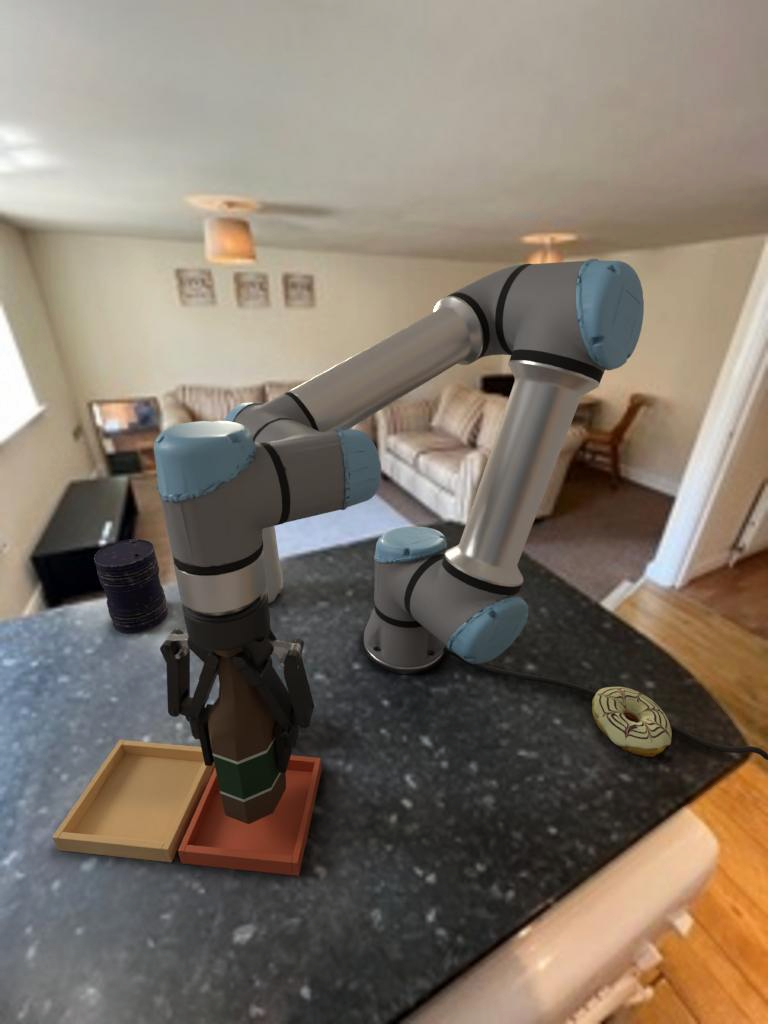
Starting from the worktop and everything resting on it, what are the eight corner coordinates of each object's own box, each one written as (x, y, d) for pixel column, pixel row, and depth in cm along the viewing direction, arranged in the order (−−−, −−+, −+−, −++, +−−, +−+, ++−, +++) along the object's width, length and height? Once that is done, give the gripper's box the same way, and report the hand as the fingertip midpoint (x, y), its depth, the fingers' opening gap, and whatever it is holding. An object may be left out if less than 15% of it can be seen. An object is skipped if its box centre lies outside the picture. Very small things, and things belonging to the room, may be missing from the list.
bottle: (231, 604, 93) (212, 467, 80) (252, 580, 101) (237, 452, 88) (272, 611, 91) (259, 472, 78) (290, 586, 99) (281, 457, 86)
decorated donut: (612, 762, 63) (618, 744, 61) (577, 700, 72) (582, 683, 71) (682, 758, 64) (691, 740, 62) (638, 698, 73) (644, 681, 72)
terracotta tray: (321, 770, 61) (321, 757, 59) (298, 876, 49) (297, 863, 48) (225, 761, 61) (223, 748, 60) (181, 863, 50) (177, 850, 49)
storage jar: (100, 626, 85) (75, 544, 78) (141, 597, 94) (122, 521, 86) (140, 640, 82) (118, 555, 75) (179, 609, 91) (163, 530, 83)
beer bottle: (228, 764, 57) (201, 611, 47) (290, 760, 57) (277, 609, 47) (212, 829, 50) (176, 666, 40) (283, 824, 50) (265, 663, 40)
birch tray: (217, 760, 61) (215, 748, 60) (171, 862, 50) (167, 849, 49) (123, 751, 62) (119, 739, 61) (58, 850, 51) (51, 837, 50)
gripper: (342, 577, 44) (343, 737, 54) (141, 563, 45) (178, 722, 55) (327, 627, 37) (332, 799, 47) (91, 609, 39) (143, 781, 48)
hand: (249, 757), depth 51 cm, fingers closed on beer bottle, 8 cm apart
